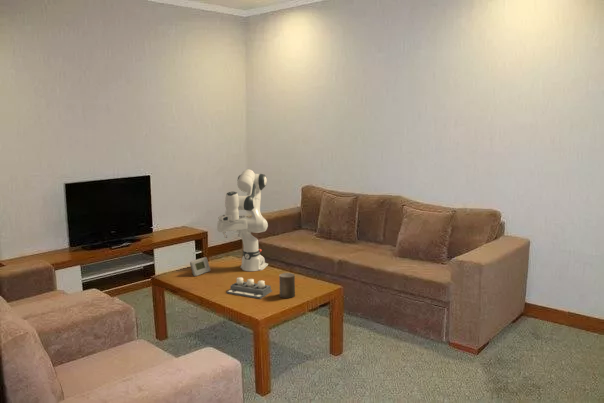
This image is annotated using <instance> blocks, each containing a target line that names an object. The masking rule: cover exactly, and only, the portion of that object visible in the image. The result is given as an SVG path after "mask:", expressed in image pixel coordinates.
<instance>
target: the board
mask: <svg viewBox="0 0 604 403" xmlns="http://www.w3.org/2000/svg"><path fill="white" fill-rule="evenodd" d="M271 286H272V285H268V284H265V288H264V289H258V283H256V282H254V287H247V281H243V285H242V286H239V285H237V281H236V282H234V283H232V284H231V285H230V288H229V290H227V291H226V294H230V295H234V296H241V297H247V298H252V299H259V300H261V299H263V298H265V297H266V296H267V295H269V294H270V293H272V292H273V290H272V287H271Z"/></svg>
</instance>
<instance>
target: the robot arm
mask: <svg viewBox="0 0 604 403" xmlns="http://www.w3.org/2000/svg"><path fill="white" fill-rule="evenodd" d="M267 182H268V179H267V176H266V175H265V174H263V173H255V171H253V170H252V169H249V168H248V169H244V170H243V171H242V172H241V174H239V175H238V177H237V188H238V189H239V190H240V191H241V192H244V193H246V195H239V194H238V192H237V191H228V192H226V194H225V201H224V202H225V204H224V206H225V212H224V214H221V215H219V216H218V218H217V219H218V221H217V224H216V230H217V232H219V233H222V234H223V235H224V237H223V238H224V239H228V235H227V234H226V233H227V232H234V231H235V232H237V237H238V238H241V239H242V245H243V250H242V257H241V265H240V269H241V270H242V271H245V272H257V271H263V270H265V268H267V267H268V265H269V263H267V262H266V260H265V257H264V256H263V255H261V252H262V249H261V248H259V240H258V238H257V237H255V236H253V234H252V233H255V234H256V233H257V234H259V233H264V232H266V231H267V230H268V227H269V224H268V221H267V219H266V218H265V217H264V216H263V215H262V213H261V202H262V190H263V189H264V188H266V186H267ZM240 211H246V213H248V214H250V215H251V217H247V216H246V215H240Z"/></svg>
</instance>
